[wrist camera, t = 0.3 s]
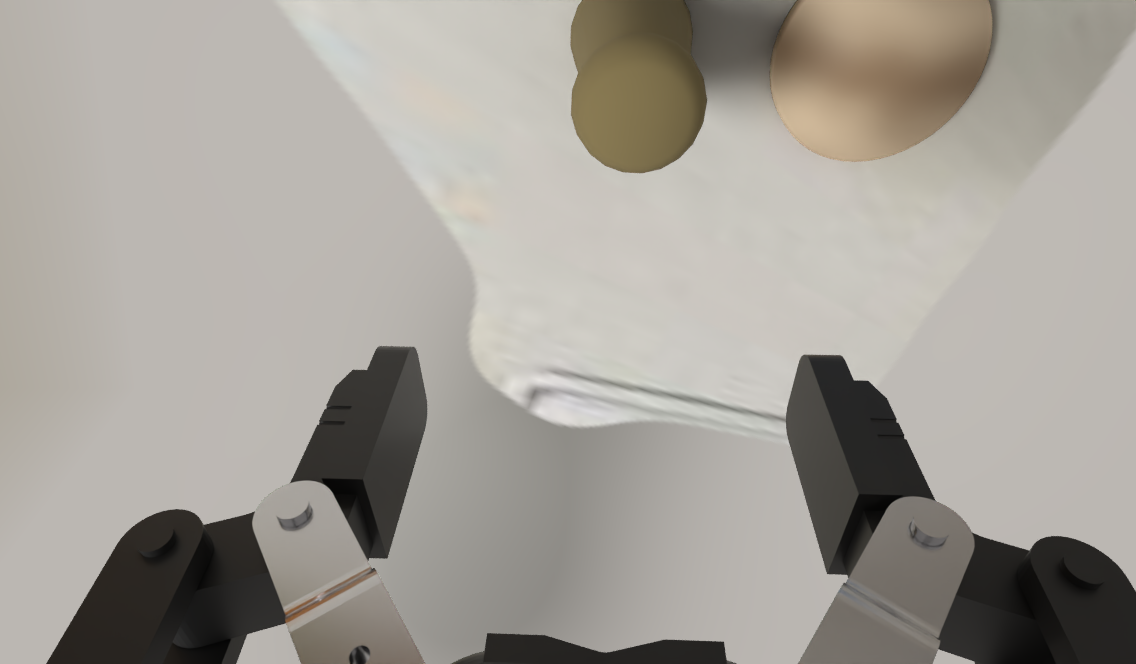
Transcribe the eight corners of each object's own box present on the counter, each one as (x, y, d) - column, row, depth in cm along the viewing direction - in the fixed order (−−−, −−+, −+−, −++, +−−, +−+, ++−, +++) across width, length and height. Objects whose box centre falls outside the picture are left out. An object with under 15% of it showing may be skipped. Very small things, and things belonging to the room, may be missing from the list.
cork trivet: (789, -56, 30) (794, -52, 30) (1016, -59, 30) (1027, -56, 29) (755, 154, 37) (758, 161, 36) (943, 153, 36) (951, 161, 35)
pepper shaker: (717, 14, 32) (758, 91, 24) (648, 120, 36) (662, 222, 27) (610, -57, 31) (612, -1, 22) (548, 62, 34) (529, 150, 26)
